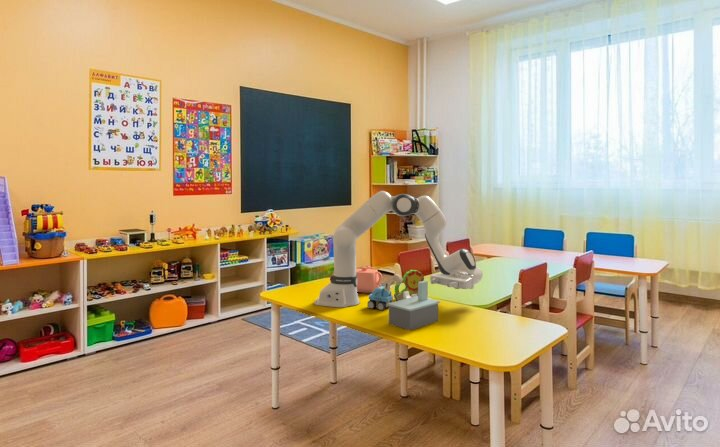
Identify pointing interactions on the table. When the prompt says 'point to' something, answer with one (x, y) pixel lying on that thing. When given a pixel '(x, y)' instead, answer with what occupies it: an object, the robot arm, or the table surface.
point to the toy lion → (409, 284)
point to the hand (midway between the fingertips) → (440, 283)
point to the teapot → (367, 279)
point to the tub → (413, 317)
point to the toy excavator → (383, 294)
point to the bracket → (406, 295)
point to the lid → (415, 299)
